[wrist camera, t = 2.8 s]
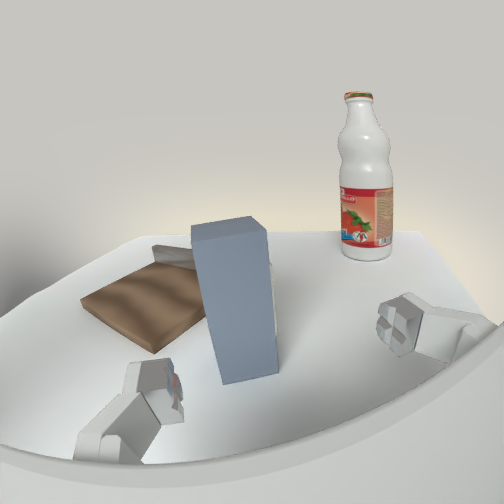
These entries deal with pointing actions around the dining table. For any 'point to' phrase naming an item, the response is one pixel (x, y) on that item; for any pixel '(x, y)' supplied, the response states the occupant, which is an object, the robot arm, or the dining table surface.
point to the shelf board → (152, 300)
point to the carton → (237, 296)
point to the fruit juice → (365, 182)
